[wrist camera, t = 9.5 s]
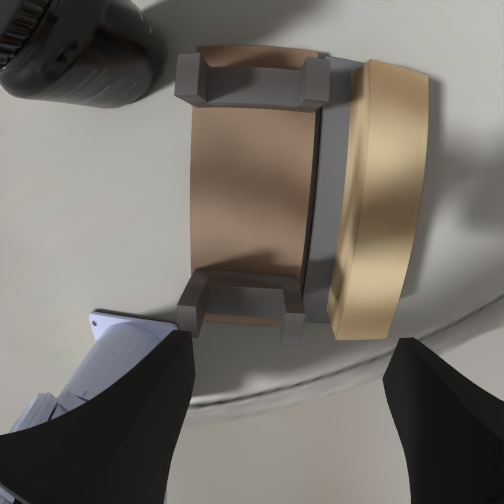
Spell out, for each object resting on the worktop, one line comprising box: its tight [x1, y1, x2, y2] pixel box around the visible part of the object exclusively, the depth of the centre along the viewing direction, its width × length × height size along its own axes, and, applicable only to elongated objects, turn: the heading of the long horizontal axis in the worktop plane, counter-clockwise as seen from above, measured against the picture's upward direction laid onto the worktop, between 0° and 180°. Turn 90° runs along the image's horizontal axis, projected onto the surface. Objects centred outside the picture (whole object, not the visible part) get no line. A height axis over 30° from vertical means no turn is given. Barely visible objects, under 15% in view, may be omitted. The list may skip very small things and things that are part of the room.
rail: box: [326, 59, 429, 340], centre depth 15 cm, size 16×4×4 cm, turn 177°
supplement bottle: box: [0, 0, 166, 108], centre depth 9 cm, size 7×7×12 cm
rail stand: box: [174, 46, 330, 344], centre depth 15 cm, size 18×7×6 cm, turn 177°
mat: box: [302, 56, 365, 323], centre depth 17 cm, size 18×7×1 cm, turn 177°
